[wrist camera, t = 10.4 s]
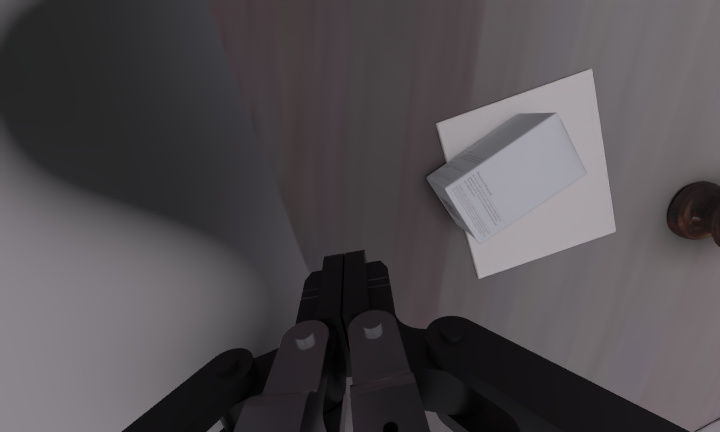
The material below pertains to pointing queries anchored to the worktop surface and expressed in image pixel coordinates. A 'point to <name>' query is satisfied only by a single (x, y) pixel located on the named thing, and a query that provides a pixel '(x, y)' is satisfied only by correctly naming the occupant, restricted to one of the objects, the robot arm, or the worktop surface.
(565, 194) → the mat
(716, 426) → the medicine bottle
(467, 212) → the supplement box
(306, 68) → the worktop surface
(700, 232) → the mortar and pestle
